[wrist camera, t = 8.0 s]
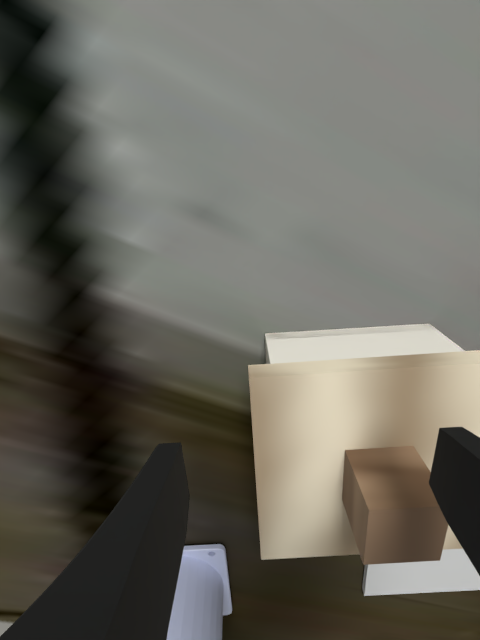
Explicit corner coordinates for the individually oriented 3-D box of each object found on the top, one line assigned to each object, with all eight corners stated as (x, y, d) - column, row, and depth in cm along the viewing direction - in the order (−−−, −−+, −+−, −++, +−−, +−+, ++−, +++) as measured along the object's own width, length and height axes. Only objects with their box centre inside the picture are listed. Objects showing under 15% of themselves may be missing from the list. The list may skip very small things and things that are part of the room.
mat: (362, 588, 28) (364, 595, 27) (376, 464, 23) (379, 470, 22) (525, 580, 28) (530, 587, 27) (576, 453, 23) (583, 459, 22)
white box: (269, 459, 23) (277, 522, 18) (264, 333, 19) (272, 377, 15) (408, 451, 22) (447, 513, 18) (429, 323, 19) (483, 364, 15)
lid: (259, 541, 19) (265, 629, 15) (248, 365, 15) (252, 428, 11) (463, 529, 19) (518, 615, 15) (509, 348, 15) (602, 406, 11)
